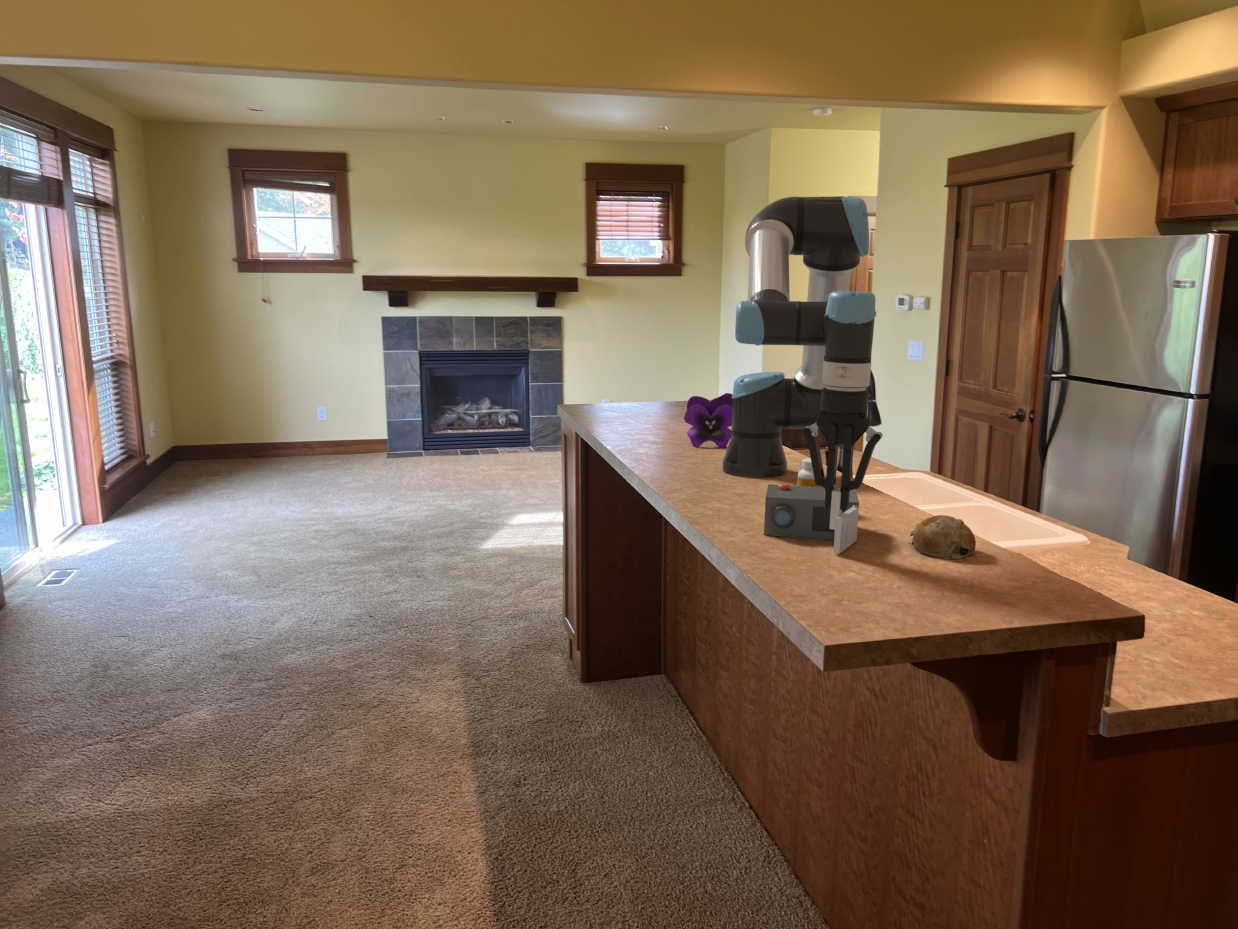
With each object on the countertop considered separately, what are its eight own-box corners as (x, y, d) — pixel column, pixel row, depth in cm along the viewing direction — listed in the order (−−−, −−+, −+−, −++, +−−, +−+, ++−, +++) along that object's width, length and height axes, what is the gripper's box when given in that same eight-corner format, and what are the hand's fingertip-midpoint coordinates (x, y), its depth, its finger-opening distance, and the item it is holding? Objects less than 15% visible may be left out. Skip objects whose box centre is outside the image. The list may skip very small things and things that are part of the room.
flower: (684, 458, 251) (681, 444, 239) (688, 408, 255) (685, 391, 243) (736, 460, 249) (736, 446, 236) (739, 410, 253) (739, 393, 240)
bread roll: (932, 581, 147) (952, 544, 142) (893, 540, 154) (911, 504, 150) (974, 572, 151) (995, 536, 147) (934, 533, 158) (953, 498, 154)
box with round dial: (766, 520, 169) (768, 480, 167) (853, 526, 165) (856, 485, 164) (763, 537, 157) (765, 494, 156) (856, 543, 154) (859, 500, 153)
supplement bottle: (823, 511, 175) (826, 463, 173) (796, 510, 176) (798, 462, 174) (823, 505, 180) (826, 458, 178) (796, 503, 182) (798, 456, 180)
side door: (833, 553, 148) (835, 516, 147) (851, 540, 156) (854, 504, 154) (842, 555, 147) (845, 518, 146) (860, 541, 155) (863, 506, 154)
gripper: (800, 387, 144) (791, 528, 149) (882, 393, 139) (871, 538, 144) (810, 382, 150) (801, 517, 155) (889, 388, 145) (877, 526, 150)
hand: (835, 527), depth 150 cm, fingers closed
